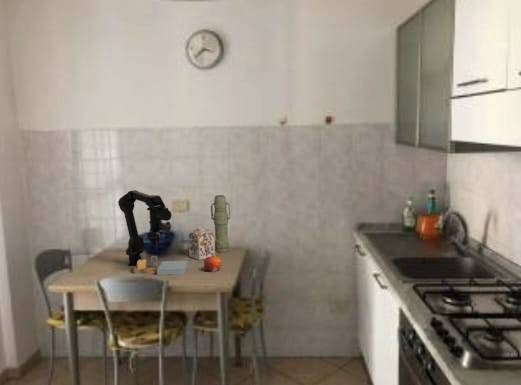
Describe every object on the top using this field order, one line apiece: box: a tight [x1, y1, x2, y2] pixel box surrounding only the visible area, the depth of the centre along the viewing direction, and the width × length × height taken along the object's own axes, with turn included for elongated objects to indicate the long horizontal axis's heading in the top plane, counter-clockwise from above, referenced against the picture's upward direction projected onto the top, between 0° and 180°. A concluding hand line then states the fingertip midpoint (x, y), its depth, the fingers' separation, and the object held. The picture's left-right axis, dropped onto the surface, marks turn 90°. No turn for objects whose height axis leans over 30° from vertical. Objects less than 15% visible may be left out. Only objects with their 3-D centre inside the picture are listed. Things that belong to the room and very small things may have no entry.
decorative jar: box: [187, 226, 216, 261], centre depth 296 cm, size 12×12×18 cm
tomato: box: [203, 255, 222, 272], centre depth 267 cm, size 9×9×8 cm
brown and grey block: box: [133, 255, 160, 274], centre depth 269 cm, size 12×8×8 cm, turn 90°
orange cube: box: [137, 258, 148, 269], centre depth 269 cm, size 4×4×4 cm
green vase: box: [210, 194, 231, 253], centre depth 307 cm, size 9×12×35 cm
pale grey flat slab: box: [156, 260, 189, 276], centre depth 270 cm, size 14×16×3 cm
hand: (156, 246), depth 270 cm, fingers open, 9 cm apart
